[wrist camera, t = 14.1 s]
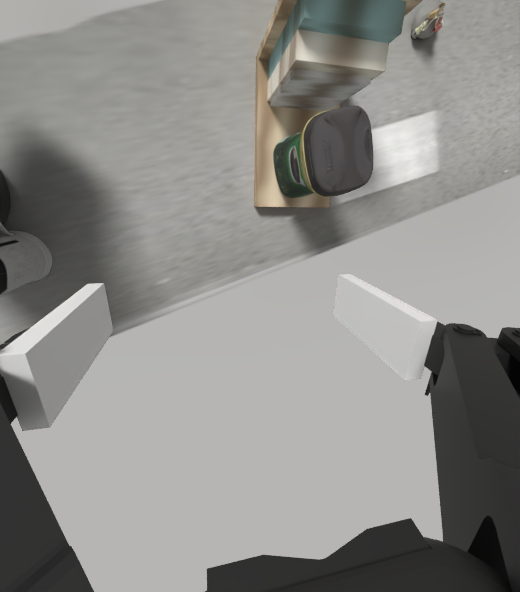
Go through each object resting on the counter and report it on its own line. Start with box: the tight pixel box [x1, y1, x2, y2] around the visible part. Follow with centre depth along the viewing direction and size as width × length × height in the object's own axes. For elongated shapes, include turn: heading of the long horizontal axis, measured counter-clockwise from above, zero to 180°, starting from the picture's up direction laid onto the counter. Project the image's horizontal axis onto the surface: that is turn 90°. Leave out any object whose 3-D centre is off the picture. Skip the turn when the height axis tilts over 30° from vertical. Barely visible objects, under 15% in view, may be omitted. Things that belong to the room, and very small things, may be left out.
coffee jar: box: [273, 106, 373, 198], centre depth 38 cm, size 10×8×19 cm
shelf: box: [254, 0, 422, 208], centre depth 36 cm, size 14×22×22 cm, turn 179°
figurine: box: [411, 0, 445, 39], centre depth 42 cm, size 5×4×6 cm
